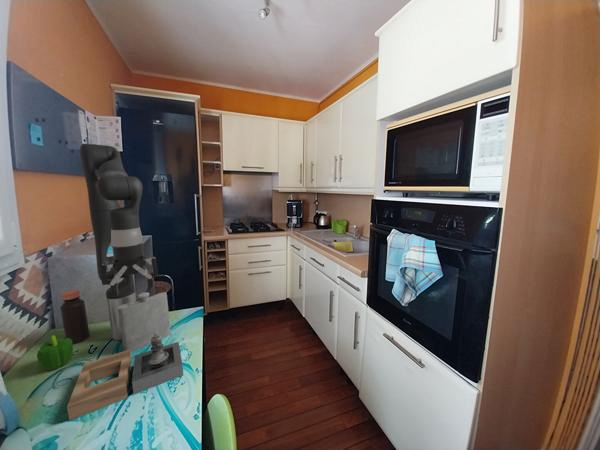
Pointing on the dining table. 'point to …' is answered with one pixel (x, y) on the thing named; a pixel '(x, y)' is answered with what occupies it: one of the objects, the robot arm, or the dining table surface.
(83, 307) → the bottle
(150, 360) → the chess piece
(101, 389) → the wooden rectangular frame
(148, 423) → the dining table surface
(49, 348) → the bell pepper
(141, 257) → the robot arm
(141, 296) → the hip flask
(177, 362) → the seat block
